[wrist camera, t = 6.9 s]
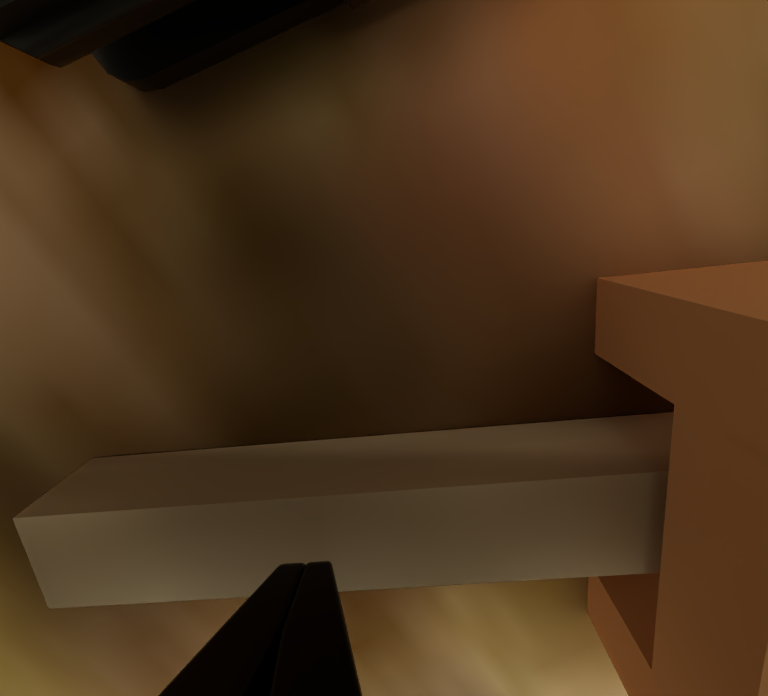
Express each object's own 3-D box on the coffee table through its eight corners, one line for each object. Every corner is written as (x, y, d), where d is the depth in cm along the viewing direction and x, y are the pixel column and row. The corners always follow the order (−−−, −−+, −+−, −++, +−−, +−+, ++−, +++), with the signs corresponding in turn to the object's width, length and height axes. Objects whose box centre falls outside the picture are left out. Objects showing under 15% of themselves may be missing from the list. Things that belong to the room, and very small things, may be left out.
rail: (1069, 741, 11) (1262, 888, 8) (194, 772, 12) (143, 908, 10) (1513, -188, 6) (2289, -475, 3) (-48, 30, 7) (-275, -69, 5)
